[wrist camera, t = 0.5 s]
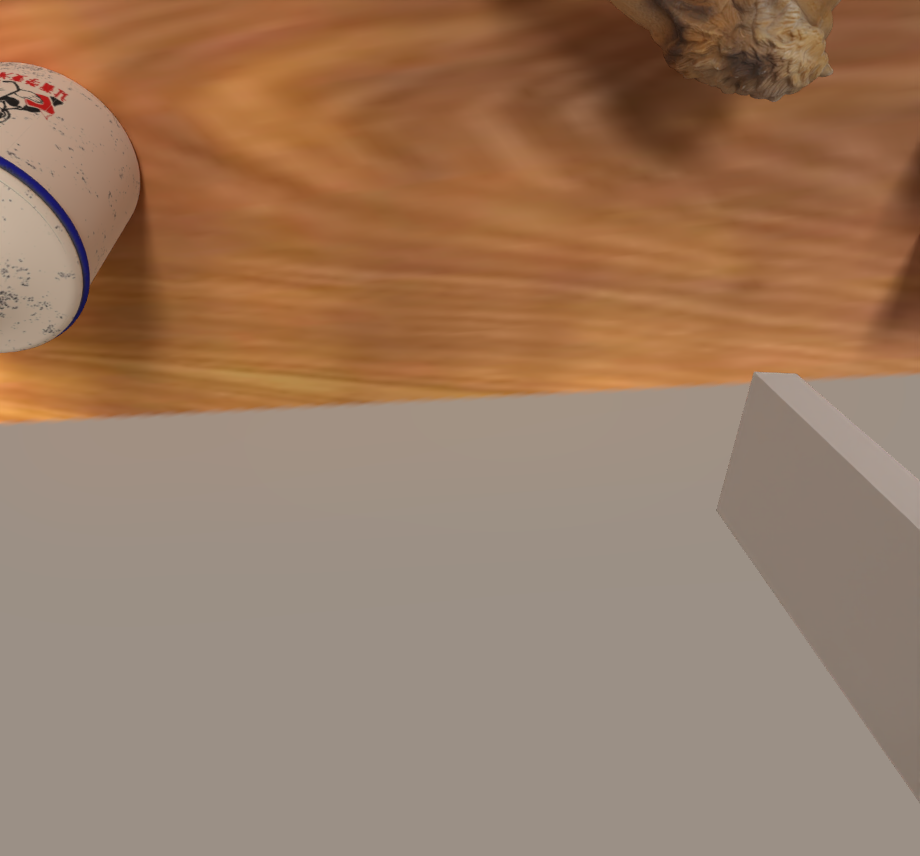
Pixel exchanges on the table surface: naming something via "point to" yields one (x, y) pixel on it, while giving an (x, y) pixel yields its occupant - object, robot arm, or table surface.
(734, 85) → the lion figurine
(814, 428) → the robot arm
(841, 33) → the table surface
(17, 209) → the teacup with lid
